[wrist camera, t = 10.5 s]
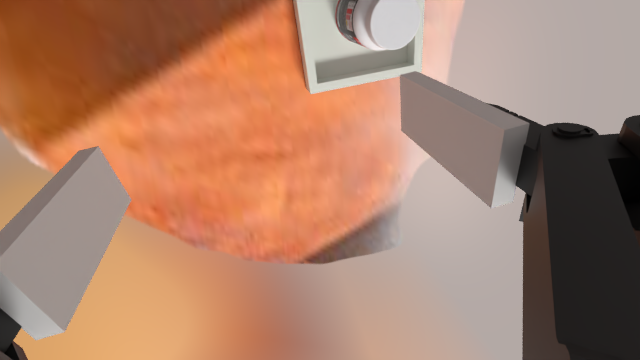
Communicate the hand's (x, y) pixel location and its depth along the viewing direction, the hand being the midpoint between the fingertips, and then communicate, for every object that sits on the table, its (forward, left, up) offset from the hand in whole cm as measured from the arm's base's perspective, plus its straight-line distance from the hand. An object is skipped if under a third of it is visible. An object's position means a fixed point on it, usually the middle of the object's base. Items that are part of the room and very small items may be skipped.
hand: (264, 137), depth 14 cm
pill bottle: (-2, +13, -25) cm, 28 cm away
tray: (-1, +13, -26) cm, 29 cm away
